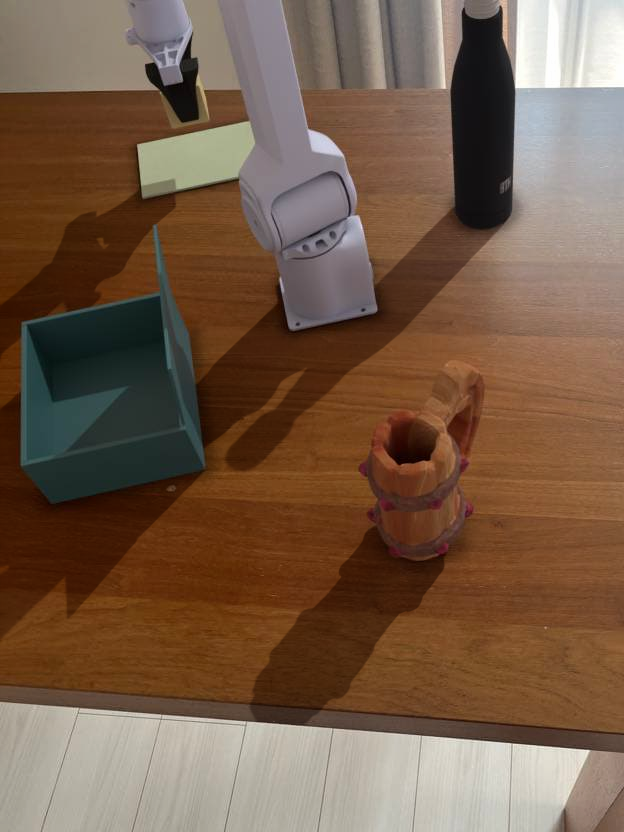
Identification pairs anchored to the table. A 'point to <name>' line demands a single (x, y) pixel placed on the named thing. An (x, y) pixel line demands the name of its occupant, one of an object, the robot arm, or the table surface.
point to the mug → (425, 466)
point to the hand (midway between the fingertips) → (188, 106)
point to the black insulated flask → (483, 118)
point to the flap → (168, 326)
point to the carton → (105, 400)
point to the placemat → (194, 159)
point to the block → (201, 105)
